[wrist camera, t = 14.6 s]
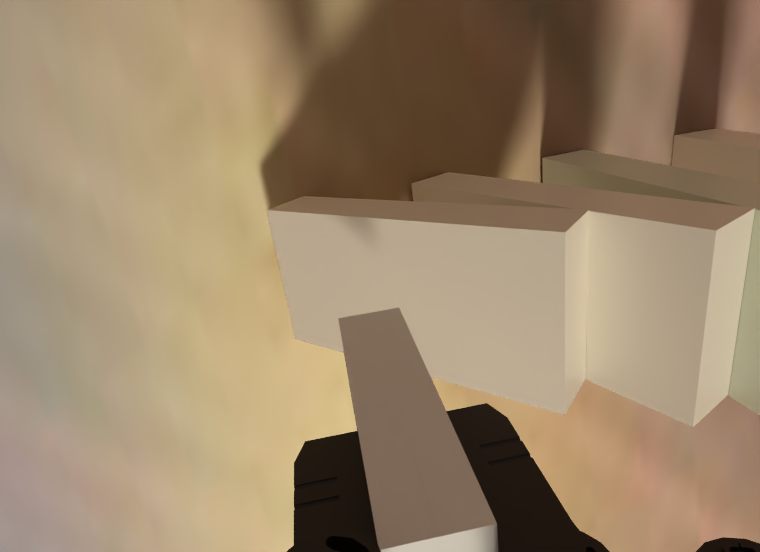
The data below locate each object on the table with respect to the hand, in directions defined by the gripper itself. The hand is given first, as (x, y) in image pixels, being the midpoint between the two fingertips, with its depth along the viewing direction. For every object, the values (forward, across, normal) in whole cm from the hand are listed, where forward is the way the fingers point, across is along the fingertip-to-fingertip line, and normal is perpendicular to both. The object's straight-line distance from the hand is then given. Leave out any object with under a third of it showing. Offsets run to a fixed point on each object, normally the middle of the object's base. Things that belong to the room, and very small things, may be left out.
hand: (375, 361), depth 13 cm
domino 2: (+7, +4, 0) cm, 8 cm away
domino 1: (+7, -2, 0) cm, 7 cm away
